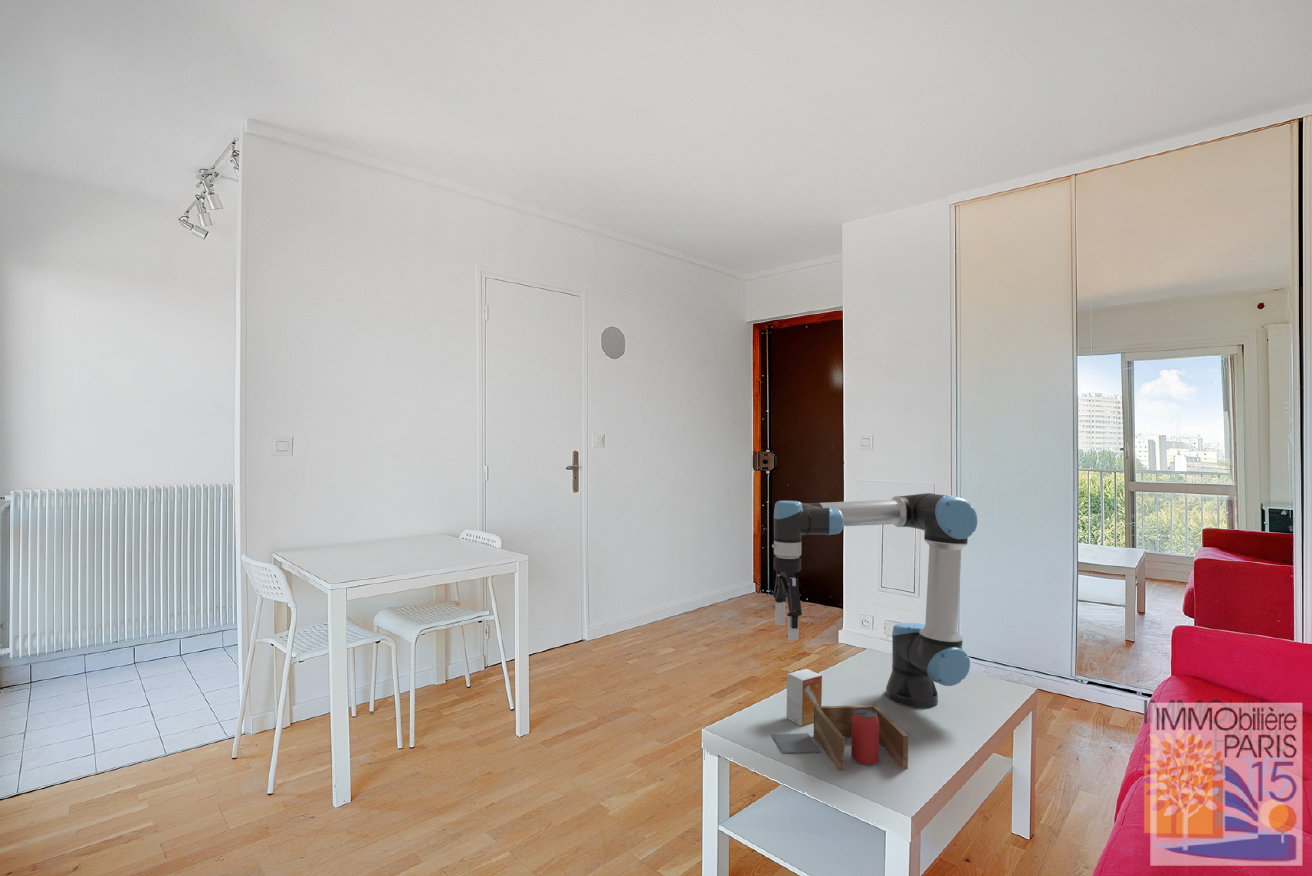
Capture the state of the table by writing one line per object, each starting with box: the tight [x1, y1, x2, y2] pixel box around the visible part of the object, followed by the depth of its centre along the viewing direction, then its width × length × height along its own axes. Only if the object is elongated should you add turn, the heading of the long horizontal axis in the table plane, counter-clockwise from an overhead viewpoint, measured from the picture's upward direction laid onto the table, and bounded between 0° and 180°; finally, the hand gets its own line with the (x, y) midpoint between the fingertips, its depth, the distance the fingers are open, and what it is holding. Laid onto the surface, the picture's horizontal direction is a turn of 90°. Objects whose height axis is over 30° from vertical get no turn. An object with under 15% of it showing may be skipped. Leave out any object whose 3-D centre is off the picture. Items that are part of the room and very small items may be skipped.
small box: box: [785, 668, 823, 727], centre depth 182 cm, size 8×6×13 cm
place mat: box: [771, 732, 822, 755], centre depth 167 cm, size 10×10×1 cm
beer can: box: [850, 707, 880, 766], centre depth 159 cm, size 7×7×12 cm
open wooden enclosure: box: [813, 704, 909, 772], centre depth 163 cm, size 17×18×8 cm
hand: (786, 632), depth 177 cm, fingers open, 13 cm apart
